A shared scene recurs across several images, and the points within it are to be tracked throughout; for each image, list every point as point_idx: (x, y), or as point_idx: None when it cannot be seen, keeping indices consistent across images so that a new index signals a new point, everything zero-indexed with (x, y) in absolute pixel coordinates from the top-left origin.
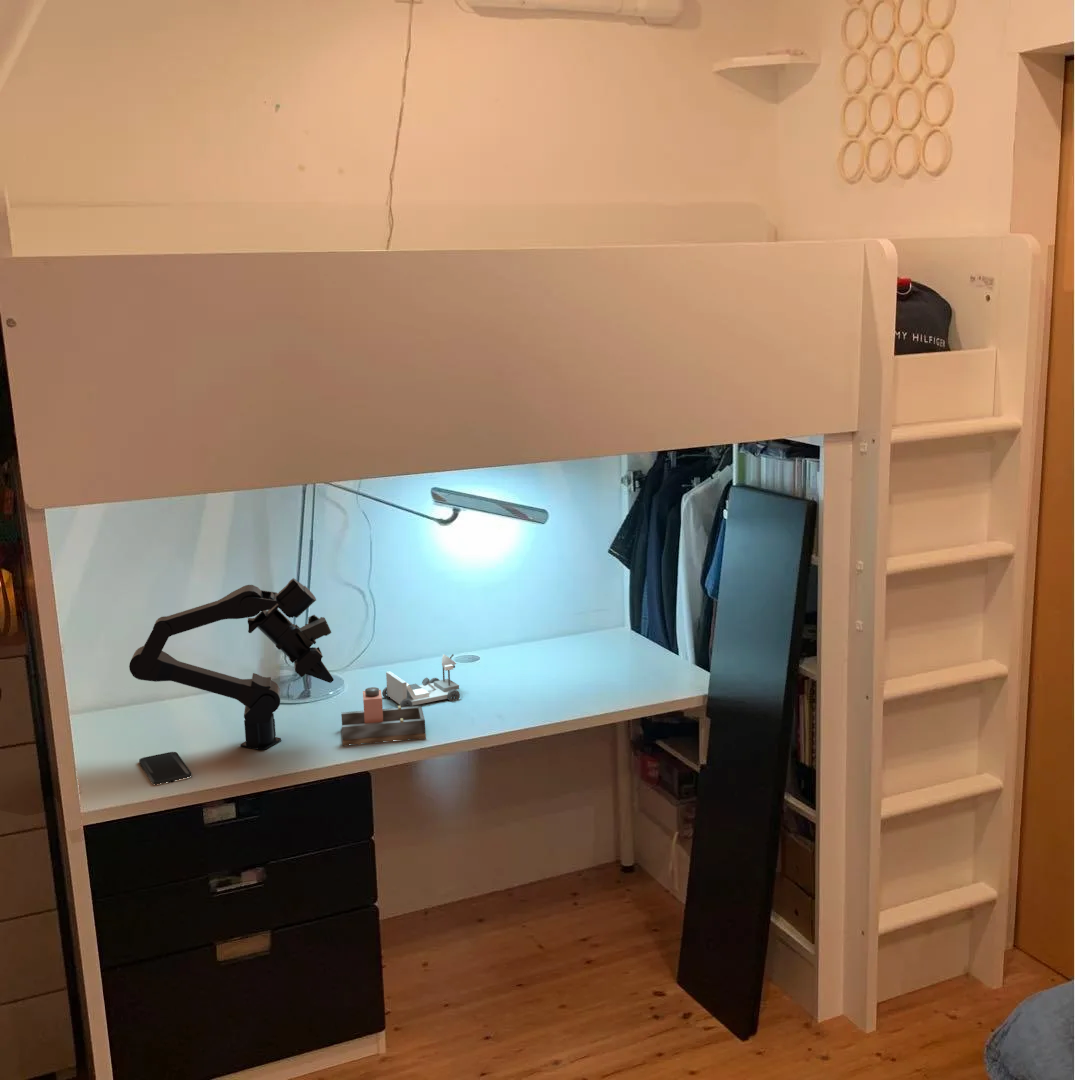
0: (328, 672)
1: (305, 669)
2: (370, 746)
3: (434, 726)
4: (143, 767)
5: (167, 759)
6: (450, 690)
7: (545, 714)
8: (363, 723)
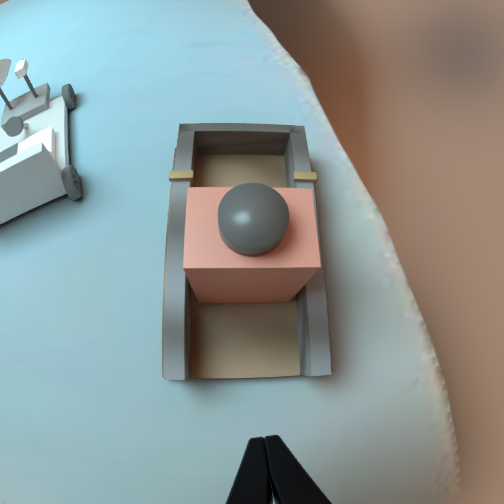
0: (317, 486)
1: None
2: (339, 291)
3: None
4: None
5: None
6: (62, 92)
7: (215, 10)
8: (307, 297)
